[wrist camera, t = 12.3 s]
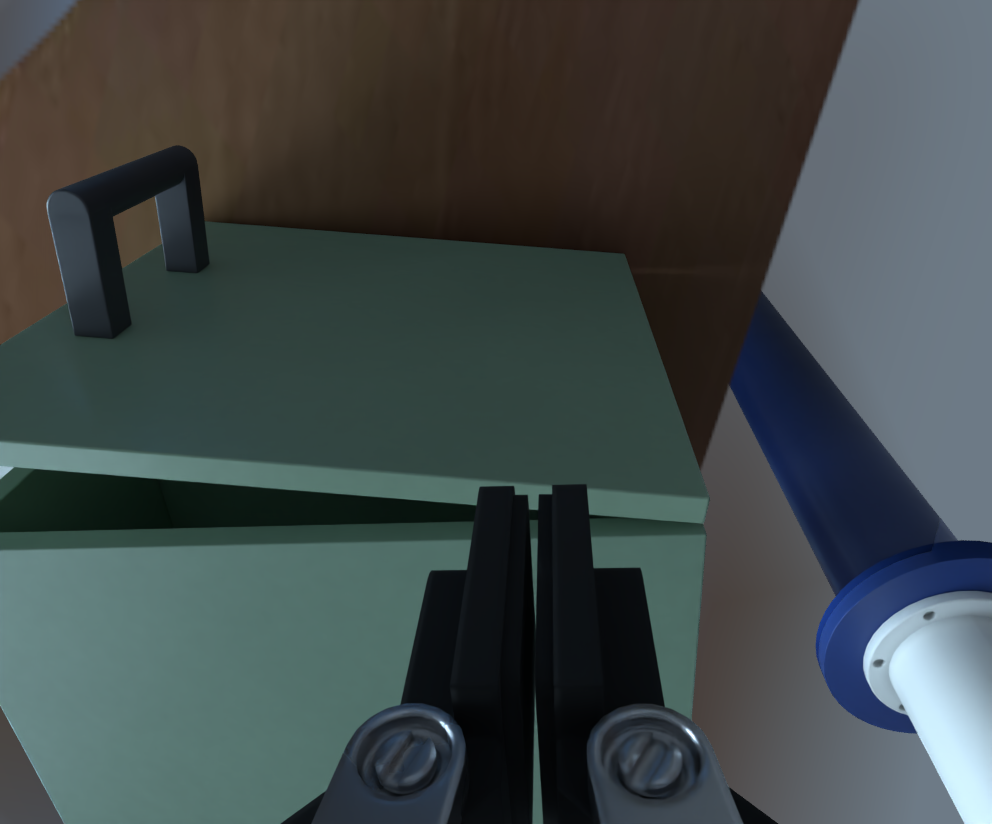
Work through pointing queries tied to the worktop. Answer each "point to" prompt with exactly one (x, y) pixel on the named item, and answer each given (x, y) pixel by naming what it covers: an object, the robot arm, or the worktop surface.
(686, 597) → the cupboard
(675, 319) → the worktop surface
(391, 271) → the cupboard door
